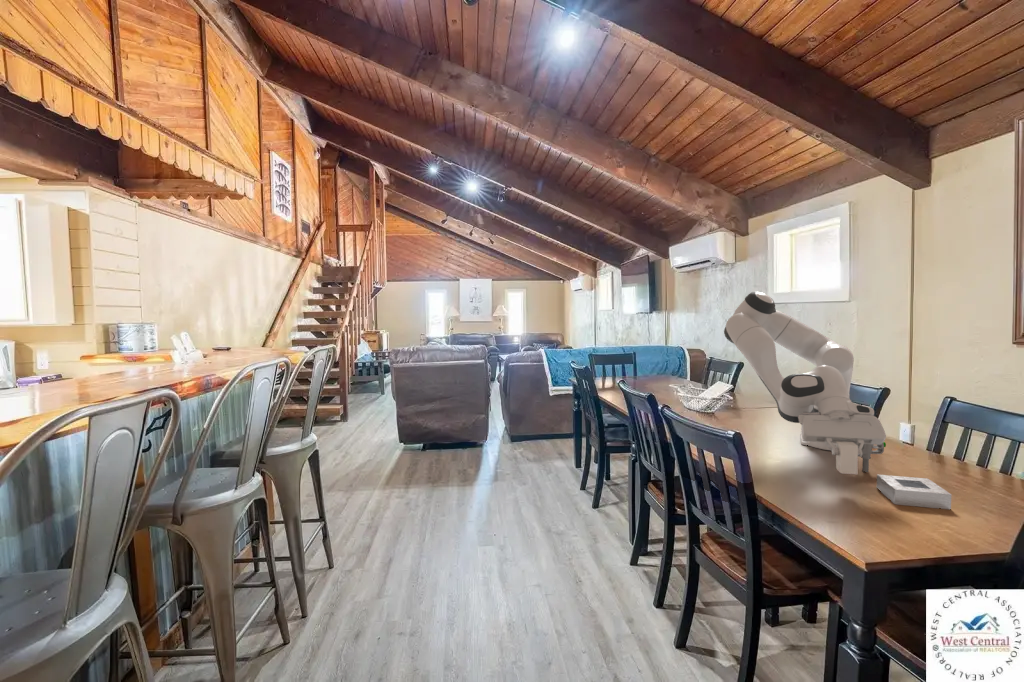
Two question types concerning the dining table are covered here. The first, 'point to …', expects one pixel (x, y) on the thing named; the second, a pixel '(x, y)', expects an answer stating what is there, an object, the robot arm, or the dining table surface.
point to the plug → (847, 458)
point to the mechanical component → (868, 451)
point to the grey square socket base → (913, 491)
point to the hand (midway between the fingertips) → (847, 455)
